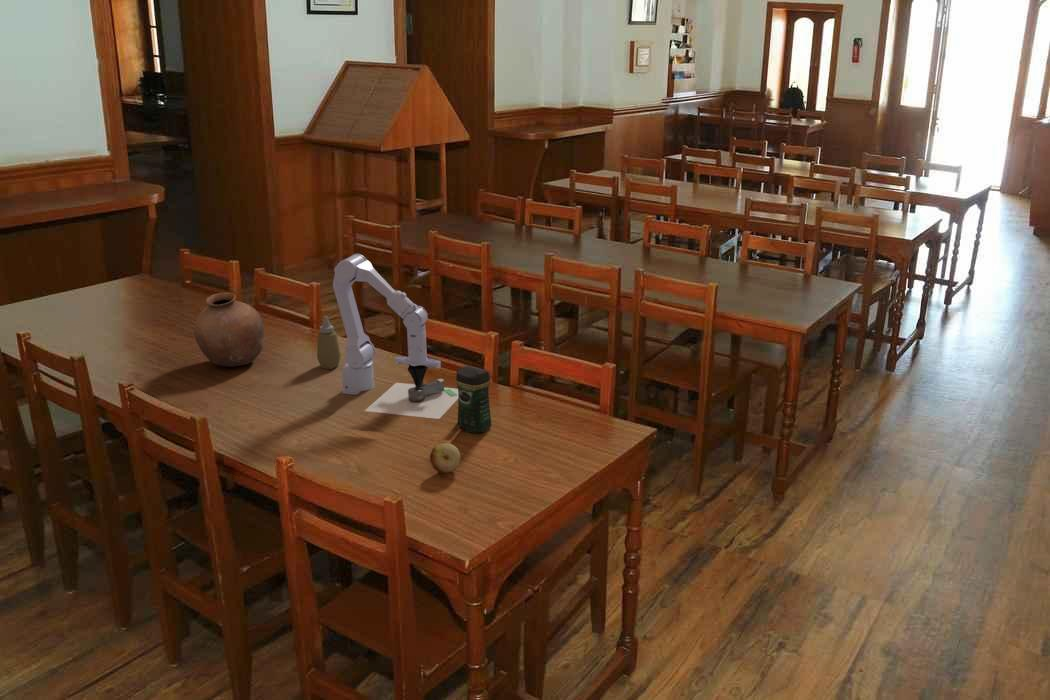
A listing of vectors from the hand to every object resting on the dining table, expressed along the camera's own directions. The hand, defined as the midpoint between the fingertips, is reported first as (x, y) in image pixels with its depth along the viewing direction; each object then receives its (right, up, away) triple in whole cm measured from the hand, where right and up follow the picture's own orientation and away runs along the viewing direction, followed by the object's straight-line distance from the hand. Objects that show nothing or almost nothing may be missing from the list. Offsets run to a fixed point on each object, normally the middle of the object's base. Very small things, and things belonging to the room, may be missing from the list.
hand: (419, 387), depth 299 cm
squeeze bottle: (-34, +6, +28) cm, 44 cm away
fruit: (+13, -21, -48) cm, 54 cm away
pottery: (-68, +7, +32) cm, 75 cm away
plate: (0, -5, -5) cm, 7 cm away
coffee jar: (+19, -11, -22) cm, 31 cm away
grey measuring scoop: (+3, -3, -3) cm, 5 cm away
